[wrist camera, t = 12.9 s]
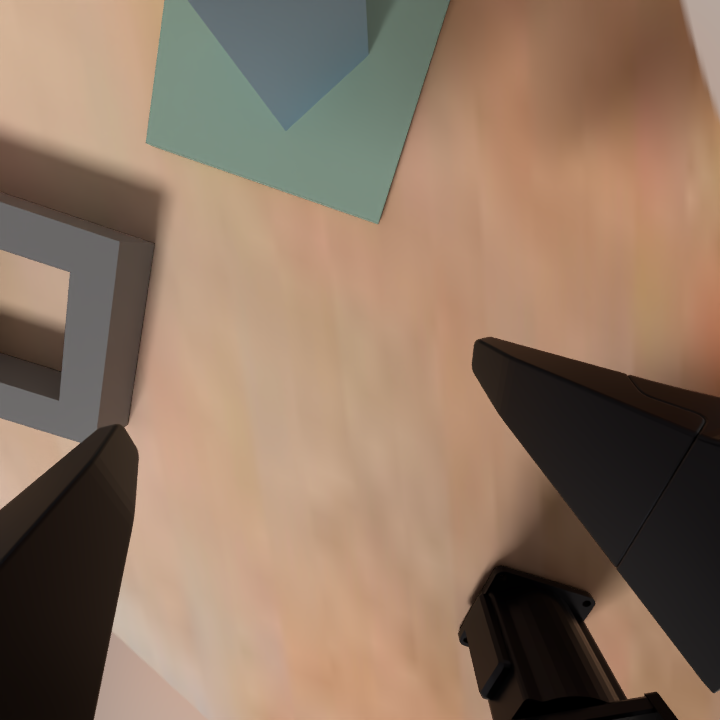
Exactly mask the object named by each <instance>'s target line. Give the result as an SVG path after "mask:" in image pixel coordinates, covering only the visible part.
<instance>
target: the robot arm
mask: <svg viewBox="0 0 720 720" xmlns="http://www.w3.org/2000/svg"><path fill="white" fill-rule="evenodd" d="M472 370H473V372H474V374H475V376H476V378H477V379H478V381H479V383H480V384H481V386H482V388H483V389H484V391H485V393H486V394H487V396H488V398H489V399H490V401H491V403H492V404H493V406H494V407H495V409H496V411H497V412H498V414H499V415H500V417H501V418H502V419H503V421H504V422H505V423H506V425H507V426H508V427H509V429H510V430H511V431H512V433H513V434H514V435H515V436H516V438H517V439H518V440H519V442H520V443H521V444H522V446H523V447H524V448H525V450H526V451H527V452H528V453H529V455H530V456H531V457H532V459H533V460H534V461H535V463H536V464H537V465H538V467H539V468H540V469H541V470H542V472H543V473H544V474H545V476H546V477H547V478H548V480H549V481H550V482H551V484H552V485H553V486H554V487H555V489H556V490H557V491H558V493H559V494H560V495H561V497H562V498H563V499H564V501H565V502H566V503H567V504H568V506H569V507H570V508H571V510H572V511H573V512H574V514H575V515H576V516H577V518H578V519H579V520H580V521H581V523H582V524H583V525H584V527H585V528H586V529H587V531H588V532H589V533H590V535H591V536H592V537H593V538H594V540H595V541H596V542H597V544H598V545H599V546H600V548H601V549H602V550H603V552H604V553H605V554H606V555H607V557H608V558H609V559H610V561H611V562H612V563H613V565H614V566H615V567H617V570H618V572H619V573H620V574H621V575H622V577H623V578H624V579H625V581H626V582H627V583H628V585H629V586H630V587H631V589H632V590H633V591H634V592H635V594H636V595H637V596H638V598H639V599H640V600H641V602H642V603H643V604H644V606H645V607H646V608H647V609H648V611H649V612H650V613H651V615H652V616H653V617H654V619H655V620H656V621H657V623H658V624H659V625H660V626H661V628H662V629H663V630H664V632H665V633H666V634H667V636H668V637H669V638H670V640H671V641H672V642H673V643H674V645H675V646H676V647H677V649H678V650H679V651H680V653H681V654H682V655H683V657H684V658H685V659H686V660H687V662H688V663H689V664H690V666H691V667H692V668H693V670H694V671H695V672H696V674H697V675H698V676H699V677H700V679H701V680H702V681H703V682H704V684H705V685H706V686H707V687H708V688H709V689H710V690H711V692H713V693H716V692H718V691H720V397H716V396H712V395H707V394H703V393H699V392H694V391H690V390H686V389H682V388H678V387H673V386H669V385H666V384H662V383H658V382H654V381H650V380H647V379H643V378H639V377H636V376H632V375H628V376H627V375H626V374H624V373H621V372H617V371H613V370H610V369H606V368H603V367H599V366H595V365H592V364H588V363H584V362H581V361H577V360H573V359H570V358H566V357H562V356H559V355H555V354H552V353H548V352H544V351H541V350H537V349H533V348H530V347H526V346H522V345H519V344H515V343H511V342H508V341H504V340H501V339H497V338H493V337H486V338H482V339H478V340H476V341H475V343H474V349H473V358H472ZM138 461H139V455H138V450H137V448H136V446H135V444H134V443H133V441H132V439H131V438H130V436H129V434H128V433H127V431H126V429H125V428H124V427H123V426H122V425H121V424H112V425H108V426H104V427H100V428H98V429H97V430H96V431H94V432H93V433H92V434H91V435H90V436H88V437H87V438H86V439H85V440H84V441H82V442H81V443H80V444H79V445H78V446H76V447H75V448H74V449H73V450H72V451H70V452H69V453H68V454H67V455H66V456H64V457H63V458H62V459H61V460H60V461H58V462H57V463H56V464H55V465H54V466H52V467H51V468H50V469H49V470H48V471H46V472H45V473H44V474H43V475H42V476H40V477H39V478H38V479H37V480H36V481H34V482H33V483H32V484H31V485H30V486H28V487H27V488H26V489H25V490H24V491H22V492H21V493H20V494H19V495H18V496H16V497H15V498H14V499H13V500H12V501H10V502H9V503H8V504H7V505H6V506H4V507H3V508H2V509H1V510H0V720H94V716H95V710H96V706H97V701H98V696H99V691H100V686H101V681H102V676H103V671H104V666H105V661H106V656H107V651H108V646H109V641H110V636H111V632H112V627H113V622H114V617H115V612H116V607H117V602H118V597H119V592H120V587H121V582H122V577H123V572H124V567H125V562H126V557H127V552H128V547H129V542H130V537H131V532H132V527H133V521H134V514H135V503H136V489H137V475H138ZM500 575H502V576H500ZM594 605H595V601H594V599H593V597H592V596H591V594H590V593H588V592H586V591H583V590H579V589H576V588H573V587H570V586H566V585H563V584H560V583H557V582H553V581H550V580H547V579H544V578H540V577H537V576H534V575H531V574H527V573H524V572H521V571H518V570H514V569H511V568H508V567H505V566H498V567H496V568H495V569H494V570H493V572H492V573H491V575H490V577H489V579H488V581H487V582H486V584H485V586H484V588H483V589H482V591H481V593H480V595H479V596H478V597H477V599H476V601H475V602H474V604H473V606H472V608H471V609H470V611H469V613H468V615H467V617H466V618H465V620H464V623H463V625H462V627H461V629H460V631H459V633H458V636H459V641H460V643H461V644H462V645H464V646H467V647H469V649H470V654H471V658H472V662H473V667H474V671H475V675H476V680H477V684H478V688H479V692H480V694H481V696H482V698H484V699H487V700H488V702H489V706H490V710H491V714H492V718H493V720H678V719H677V718H676V716H675V715H674V714H673V712H672V711H671V710H670V708H669V707H668V706H667V704H666V703H665V702H664V700H663V699H662V698H661V696H660V695H659V694H658V693H657V692H651V693H645V694H644V695H645V696H644V697H638V698H632V699H627V698H626V696H625V694H624V692H623V691H622V689H621V687H620V685H619V683H618V682H617V680H616V678H615V676H614V675H613V673H612V671H611V669H610V667H609V666H608V664H607V662H606V660H605V658H604V657H603V655H602V653H601V651H600V650H599V648H598V646H597V644H596V642H595V641H594V639H593V637H592V635H591V633H590V632H589V630H588V628H587V626H586V625H585V623H584V620H585V619H586V617H587V616H588V614H589V613H590V611H591V610H592V609H593V607H594Z"/></svg>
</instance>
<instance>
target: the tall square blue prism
mask: <svg viewBox="0 0 720 720" xmlns="http://www.w3.org/2000/svg"><path fill="white" fill-rule="evenodd" d="M188 2H189V3H190V4H191V6H192V7H193V8H194V10H195V11H196V12H197V14H198V15H199V16H200V18H201V19H202V20H203V22H204V23H205V24H206V26H207V27H208V28H209V30H210V31H211V32H212V34H213V35H214V36H215V38H216V39H217V40H218V42H219V43H220V44H221V46H222V47H223V48H224V50H225V51H226V52H227V54H228V55H229V56H230V58H231V59H232V60H233V62H234V63H235V64H236V66H237V67H238V68H239V70H240V71H241V72H242V74H243V75H244V76H245V78H246V79H247V80H248V82H249V83H250V84H251V86H252V87H253V88H254V90H255V91H256V92H257V94H258V95H259V96H260V98H261V99H262V100H263V102H264V103H265V104H266V106H267V107H268V108H269V110H270V111H271V112H272V114H273V115H274V116H275V118H276V119H277V120H278V122H279V123H280V124H281V126H282V127H283V128H284V130H285V131H287V130H288V129H289V128H290V127H291V126H292V125H293V124H294V123H295V122H297V121H298V120H299V119H300V118H301V117H302V116H303V115H304V114H305V113H306V112H307V111H308V110H310V109H311V108H312V107H313V106H314V105H315V104H316V103H317V102H318V101H319V100H320V99H321V98H323V97H324V96H325V95H326V94H327V93H328V92H329V91H330V90H331V89H332V88H333V87H335V86H336V85H337V84H338V83H339V82H340V81H341V80H342V79H343V78H344V77H345V76H346V75H348V74H349V73H350V72H351V71H352V70H353V69H354V68H355V67H356V66H357V65H358V64H359V63H361V62H362V61H363V60H364V59H365V58H366V57H367V56H368V55H369V52H368V32H367V12H366V0H188Z"/></svg>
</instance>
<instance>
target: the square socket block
mask: <svg viewBox="0 0 720 720" xmlns="http://www.w3.org/2000/svg"><path fill="white" fill-rule="evenodd" d="M154 244H155V243H152V242H149V241H146V240H143V239H140V238H137V237H134V236H131V235H128V234H125V233H122V232H119V231H116V230H113V229H110V228H107V227H104V226H101V225H98V224H95V223H92V222H89V221H86V220H83V219H80V218H77V217H74V216H71V215H68V214H65V213H62V212H59V211H56V210H53V209H50V208H47V207H44V206H41V205H38V204H35V203H32V202H29V201H26V200H23V199H20V198H17V197H14V196H11V195H8V194H5V193H2V192H0V249H1V250H4V251H7V252H10V253H13V254H16V255H19V256H22V257H25V258H28V259H31V260H34V261H37V262H40V263H43V264H46V265H49V266H53V267H56V268H59V269H62V270H65V271H68V272H70V278H69V290H68V302H67V314H66V326H65V338H64V349H63V361H62V372H59V371H56V370H53V369H50V368H47V367H44V366H40V365H37V364H34V363H31V362H28V361H25V360H21V359H18V358H15V357H12V356H9V355H6V354H2V353H0V418H2V419H5V420H8V421H12V422H15V423H18V424H21V425H25V426H28V427H31V428H34V429H38V430H41V431H44V432H47V433H51V434H54V435H57V436H60V437H64V438H67V439H70V440H73V441H77V442H80V443H81V442H82V441H84V440H85V439H86V438H87V437H88V436H90V435H91V434H92V433H93V432H94V431H96V430H97V429H98V428H100V427H104V426H108V425H112V424H121V425H122V426H123V427H125V426H127V425H128V419H129V412H130V405H131V398H132V392H133V385H134V378H135V372H136V365H137V358H138V352H139V345H140V338H141V331H142V325H143V318H144V311H145V305H146V298H147V291H148V285H149V278H150V271H151V264H152V258H153V251H154Z"/></svg>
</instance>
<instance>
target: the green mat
mask: <svg viewBox="0 0 720 720" xmlns="http://www.w3.org/2000/svg"><path fill="white" fill-rule="evenodd" d="M449 2H450V0H366V12H367V32H368V52H369V55H368V56H367V57H366V58H365V59H364V60H363V61H362V62H361V63H359V64H358V65H357V66H356V67H355V68H354V69H353V70H352V71H351V72H350V73H349V74H348V75H346V76H345V77H344V78H343V79H342V80H341V81H340V82H339V83H338V84H337V85H336V86H335V87H333V88H332V89H331V90H330V91H329V92H328V93H327V94H326V95H325V96H324V97H323V98H321V99H320V100H319V101H318V102H317V103H316V104H315V105H314V106H313V107H312V108H311V109H310V110H308V111H307V112H306V113H305V114H304V115H303V116H302V117H301V118H300V119H299V120H298V121H297V122H295V123H294V124H293V125H292V126H291V127H290V128H289V129H288V130H287V131H285V130H284V128H283V127H282V126H281V124H280V123H279V122H278V120H277V119H276V118H275V116H274V115H273V114H272V112H271V111H270V110H269V108H268V107H267V106H266V104H265V103H264V102H263V100H262V99H261V98H260V96H259V95H258V94H257V92H256V91H255V90H254V88H253V87H252V86H251V84H250V83H249V82H248V80H247V79H246V78H245V76H244V75H243V74H242V72H241V71H240V70H239V68H238V67H237V66H236V64H235V63H234V62H233V60H232V59H231V58H230V56H229V55H228V54H227V52H226V51H225V50H224V48H223V47H222V46H221V44H220V43H219V42H218V40H217V39H216V38H215V36H214V35H213V34H212V32H211V31H210V30H209V28H208V27H207V26H206V24H205V23H204V22H203V20H202V19H201V18H200V16H199V15H198V14H197V12H196V11H195V10H194V8H193V7H192V6H191V4H190V3H189V2H188V0H165V1H164V9H163V16H162V24H161V31H160V39H159V47H158V54H157V62H156V69H155V77H154V84H153V92H152V100H151V107H150V115H149V122H148V130H147V138H146V143H147V144H149V145H151V146H153V147H156V148H159V149H162V150H165V151H168V152H171V153H174V154H177V155H179V156H182V157H185V158H188V159H191V160H194V161H197V162H200V163H202V164H205V165H208V166H211V167H214V168H217V169H220V170H223V171H226V172H228V173H231V174H234V175H237V176H240V177H243V178H246V179H249V180H252V181H254V182H257V183H260V184H263V185H266V186H269V187H272V188H275V189H278V190H280V191H283V192H286V193H289V194H292V195H295V196H298V197H301V198H304V199H306V200H309V201H312V202H315V203H318V204H321V205H324V206H327V207H330V208H332V209H335V210H338V211H341V212H344V213H347V214H350V215H353V216H356V217H358V218H361V219H364V220H367V221H370V222H373V223H376V224H379V220H380V217H381V214H382V211H383V208H384V205H385V202H386V199H387V195H388V192H389V189H390V186H391V183H392V180H393V177H394V174H395V170H396V167H397V164H398V161H399V158H400V155H401V152H402V149H403V146H404V142H405V139H406V136H407V133H408V130H409V127H410V124H411V121H412V117H413V114H414V111H415V108H416V105H417V102H418V99H419V96H420V93H421V89H422V86H423V83H424V80H425V77H426V74H427V71H428V68H429V64H430V61H431V58H432V55H433V52H434V49H435V46H436V43H437V39H438V36H439V33H440V30H441V27H442V24H443V21H444V18H445V15H446V11H447V8H448V5H449Z"/></svg>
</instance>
